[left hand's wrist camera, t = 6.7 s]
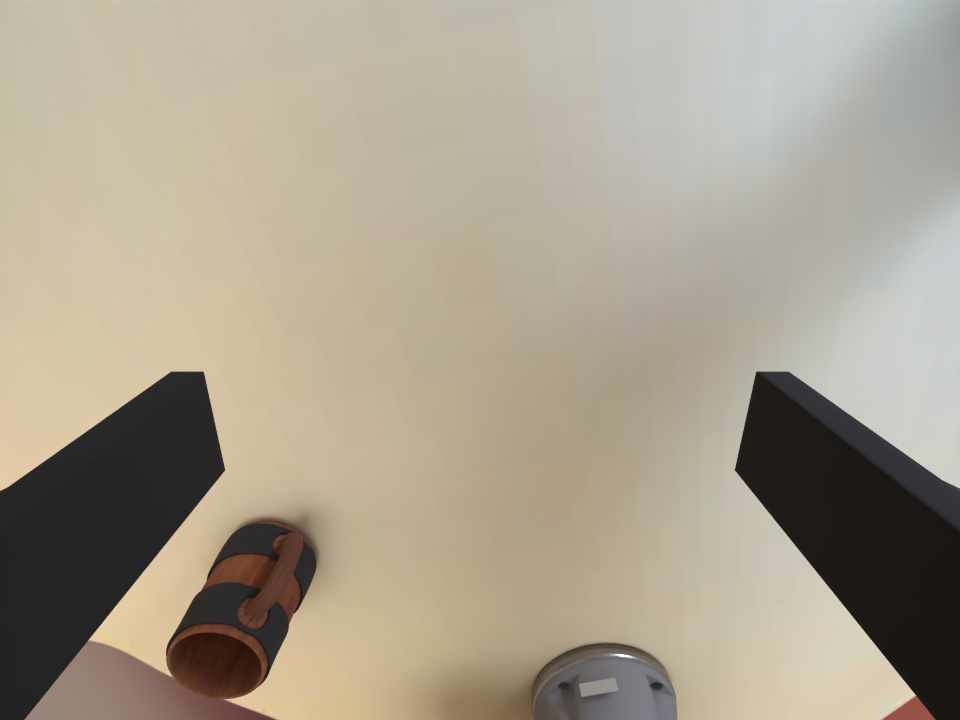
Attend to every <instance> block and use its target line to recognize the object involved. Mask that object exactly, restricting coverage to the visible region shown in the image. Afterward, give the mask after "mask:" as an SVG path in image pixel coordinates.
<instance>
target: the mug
mask: <svg viewBox="0 0 960 720" xmlns="http://www.w3.org/2000/svg"><path fill="white" fill-rule="evenodd" d="M315 570H316V559H315V555H314V552H313V550H312V547H311V545H310V543H309V542H308V540H307V539H306V538H305V537H304V536H303V535H302V534H301V533H300V532H298V531H297V530H296V529H294V528H292V527H290V526H288V525H285V524H282V523H277V522H258V523H254V524H251V525H248V526H245V527H242V528H241V529H239V530H237V531H236V532H234V533H233V534H232V535H231V536H230V538H229V539H228V540H227V542H226V543H225V545H224V546H223V548H222V549H221V551H220V553H219V554H218V556H217V558H216V560H215V562H214V564H213V566H212V567H211V569H210V571H209V574H208V577H207V582H206V583H205V585H204V587H203V588H202V590H201V591H200V592H199V593H198V594H197V595H196V596H195V598H194V599H193V600H192V602H191V604H190V606H189V608H188V610H187V612H186V614H185V616H184V617H183V619H182V621H181V623H180V624H179V626H178V628H177V630H176V631H175V633H174V635H173V636H172V638H171V639H170V641H169V643H168V645H167V649H166V657H167V659H166V661H167V666H168V669H169V671H170V673H171V674H172V676H173V677H174V678H175V679H176V681H177V682H179V683H180V684H181V685H182V686H184V687H185V688H186V689H188V690H190V691H192V692H194V693H196V694H199V695H202V696H205V697H209V698H216V699H230V698H237V697H241V696H244V695H246V694H248V693H250V692H252V691H253V690H255V689H256V688H257V687H258V686H260V685H261V684H262V683H263V682H264V681H265V679H266V678H267V676H268V674H269V671H270V669H271V667H272V664H273V662H274V660H275V658H276V655H277V653H278V651H279V649H280V647H281V645H282V643H283V641H284V639H285V637H286V635H287V632H288V628H289V623H290V621H291V618H292V616H293V614H294V613H295V612H296V611H297V610H298V608H299V607H300V605H301V603H302V601H303V599H304V597H305V595H306V593H307V591H308V589H309V586H310V584H311V582H312V579H313V576H314V573H315Z"/></svg>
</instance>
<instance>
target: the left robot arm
mask: <svg viewBox="0 0 960 720" xmlns="http://www.w3.org/2000/svg"><path fill="white" fill-rule="evenodd" d="M224 471H225V468H224V463H223V458H222V454H221V449H220V445H219V440H218V435H217V431H216V426H215V422H214V417H213V412H212V408H211V403H210V399H209V394H208V389H207V385H206V380H205V376H204V372H170V373H169V374H167V375H166V376H165V377H163V378H162V379H160V380H159V381H158V382H156V383H155V384H153V385H152V386H151V387H149V388H148V389H146V390H145V391H143V392H142V393H141V394H139V395H138V396H136V397H135V398H134V399H132V400H131V401H129V402H128V403H126V404H125V405H124V406H122V407H121V408H119V409H118V410H117V411H115V412H114V413H112V414H111V415H109V416H108V417H107V418H105V419H104V420H102V421H101V422H100V423H98V424H97V425H95V426H94V427H93V428H91V429H90V430H88V431H87V432H85V433H84V434H83V435H81V436H80V437H78V438H77V439H76V440H74V441H73V442H71V443H70V444H68V445H67V446H66V447H64V448H63V449H61V450H60V451H59V452H57V453H56V454H54V455H53V456H52V457H50V458H49V459H47V460H46V461H44V462H43V463H42V464H40V465H39V466H37V467H36V468H35V469H33V470H32V471H30V472H29V473H27V474H26V475H25V476H23V477H22V478H20V479H19V480H18V481H16V482H15V483H13V484H12V485H11V486H9V487H8V488H6V489H3V490H1V491H0V720H24V719H25V718H26V717H27V716H28V714H29V713H30V712H31V711H32V709H33V708H34V707H35V706H36V704H37V703H38V702H39V701H40V700H41V698H42V697H43V696H44V695H45V693H46V692H47V691H48V690H49V688H50V687H51V686H52V685H53V683H54V682H55V681H56V680H57V678H58V677H59V676H60V675H61V673H62V672H63V671H64V670H65V668H66V667H67V666H68V665H69V663H70V662H71V661H72V660H73V658H74V657H75V656H76V655H77V654H78V652H79V651H80V650H81V649H82V647H83V646H84V645H85V644H86V642H87V641H88V640H89V639H90V637H91V636H92V635H93V634H94V632H95V631H96V630H97V629H98V627H99V626H100V625H101V624H102V623H103V621H104V620H105V619H106V618H107V616H108V615H109V614H110V613H111V611H112V610H113V609H114V608H115V606H116V605H117V604H118V603H119V601H120V600H121V599H122V598H123V596H124V595H125V594H126V593H127V591H128V590H129V589H130V588H131V586H132V585H133V584H134V583H135V582H136V580H137V579H138V578H139V577H140V575H141V574H142V573H143V572H144V570H145V569H146V568H147V567H148V565H149V564H150V563H151V562H152V560H153V559H154V558H155V557H156V555H157V554H158V553H159V552H160V550H161V549H162V548H163V547H164V545H165V544H166V543H167V542H168V541H169V539H170V538H171V537H172V536H173V534H174V533H175V532H176V531H177V529H178V528H179V527H180V526H181V524H182V523H183V522H184V521H185V519H186V518H187V517H188V516H189V514H190V513H191V512H192V511H193V509H194V508H195V507H196V506H197V504H198V503H199V502H200V501H201V500H202V498H203V497H204V496H205V495H206V493H207V492H208V491H209V490H210V488H211V487H212V486H213V485H214V483H215V482H216V481H217V480H218V478H219V477H220V476H221V475H222V473H223V472H224ZM735 471H736V472H737V473H738V475H739V476H740V477H741V478H742V480H743V481H744V482H745V483H746V485H747V486H748V487H749V488H750V490H751V491H752V492H753V493H754V495H755V496H756V497H757V498H758V500H759V501H760V502H761V503H762V504H763V506H764V507H765V508H766V509H767V511H768V512H769V513H770V514H771V516H772V517H773V518H774V519H775V521H776V522H777V523H778V524H779V526H780V527H781V528H782V529H783V531H784V532H785V533H786V534H787V536H788V537H789V538H790V539H791V541H792V542H793V543H794V544H795V545H796V547H797V548H798V549H799V550H800V552H801V553H802V554H803V555H804V557H805V558H806V559H807V560H808V562H809V563H810V564H811V565H812V567H813V568H814V569H815V570H816V572H817V573H818V574H819V575H820V577H821V578H822V579H823V580H824V582H825V583H826V584H827V585H828V586H829V588H830V589H831V590H832V591H833V593H834V594H835V595H836V596H837V598H838V599H839V600H840V601H841V603H842V604H843V605H844V606H845V608H846V609H847V610H848V611H849V613H850V614H851V615H852V616H853V618H854V619H855V620H856V621H857V623H858V624H859V625H860V626H861V627H862V629H863V630H864V631H865V632H866V634H867V635H868V636H869V637H870V639H871V640H872V641H873V642H874V644H875V645H876V646H877V647H878V649H879V650H880V651H881V652H882V654H883V655H884V656H885V657H886V659H887V660H888V661H889V662H890V664H891V665H892V666H893V667H894V668H895V670H896V671H897V672H898V673H899V675H900V676H901V677H902V678H903V680H904V681H905V682H906V683H907V685H908V686H909V687H910V688H911V690H912V691H913V692H914V693H915V695H916V696H917V697H918V698H919V700H920V701H921V702H922V703H923V705H924V706H925V707H926V708H927V709H928V711H929V712H930V713H931V714H932V716H933V717H934V718H935V719H936V720H960V489H959V488H957V487H955V486H953V485H951V484H949V483H947V482H945V481H943V480H941V479H940V478H938V477H937V476H935V475H934V474H933V473H931V472H930V471H928V470H927V469H925V468H924V467H923V466H921V465H920V464H918V463H917V462H916V461H914V460H913V459H911V458H910V457H908V456H907V455H906V454H904V453H903V452H901V451H900V450H899V449H897V448H896V447H894V446H893V445H892V444H890V443H889V442H887V441H886V440H884V439H883V438H882V437H880V436H879V435H877V434H876V433H875V432H873V431H872V430H870V429H869V428H867V427H866V426H865V425H863V424H862V423H860V422H859V421H858V420H856V419H855V418H853V417H852V416H851V415H849V414H848V413H846V412H845V411H843V410H842V409H841V408H839V407H838V406H836V405H835V404H834V403H832V402H831V401H829V400H828V399H826V398H825V397H824V396H822V395H821V394H819V393H818V392H817V391H815V390H814V389H812V388H811V387H809V386H808V385H807V384H805V383H804V382H802V381H801V380H800V379H798V378H797V377H795V376H794V375H793V374H791V373H790V372H756V376H755V380H754V385H753V389H752V394H751V399H750V403H749V408H748V412H747V417H746V422H745V426H744V431H743V435H742V440H741V445H740V449H739V454H738V458H737V463H736V468H735ZM532 705H533V715H534V720H677V704H676V696H675V692H674V689H673V686H672V684H671V681H670V678H669V676H668V673H667V671H666V670H665V668H664V667H663V666H662V665H661V664H660V663H659V662H658V661H657V660H656V659H655V658H653V657H652V656H650V655H648V654H647V653H645V652H642V651H640V650H637V649H634V648H631V647H626V646H621V645H594V646H588V647H584V648H580V649H576V650H573V651H571V652H568V653H566V654H564V655H562V656H560V657H559V658H557V659H555V660H554V661H553V662H551V663H550V664H549V665H548V666H546V667H545V668H544V670H543V671H542V672H541V673H540V674H539V676H538V677H537V679H536V681H535V683H534V686H533V690H532Z"/></svg>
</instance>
